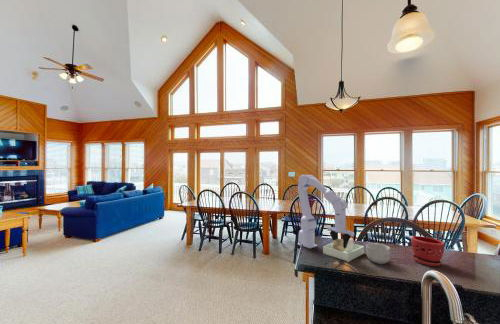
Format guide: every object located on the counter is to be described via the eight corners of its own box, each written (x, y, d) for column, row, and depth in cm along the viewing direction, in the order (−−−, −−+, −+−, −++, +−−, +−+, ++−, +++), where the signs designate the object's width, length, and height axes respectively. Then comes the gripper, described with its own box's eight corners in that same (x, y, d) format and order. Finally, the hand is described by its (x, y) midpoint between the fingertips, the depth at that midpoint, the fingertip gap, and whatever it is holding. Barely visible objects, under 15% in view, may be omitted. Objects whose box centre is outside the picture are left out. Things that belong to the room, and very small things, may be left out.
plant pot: (431, 269, 104) (431, 244, 104) (405, 258, 117) (405, 236, 117) (451, 266, 107) (450, 242, 108) (423, 256, 120) (423, 234, 121)
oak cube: (333, 249, 120) (333, 240, 120) (337, 247, 123) (337, 238, 124) (342, 252, 116) (341, 242, 116) (346, 250, 119) (346, 240, 120)
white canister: (342, 250, 126) (342, 238, 126) (346, 248, 129) (346, 236, 129) (350, 253, 122) (350, 240, 122) (355, 251, 125) (355, 239, 125)
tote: (323, 253, 122) (323, 246, 122) (340, 246, 134) (340, 240, 134) (348, 261, 111) (348, 253, 111) (364, 253, 123) (364, 246, 123)
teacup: (389, 268, 105) (388, 251, 105) (364, 262, 111) (364, 246, 112) (391, 259, 116) (391, 244, 116) (368, 254, 122) (368, 239, 123)
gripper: (324, 220, 124) (324, 244, 123) (349, 225, 113) (349, 251, 112) (331, 218, 128) (331, 241, 128) (355, 223, 117) (356, 248, 117)
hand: (340, 246), depth 120 cm, fingers closed on oak cube, 5 cm apart
